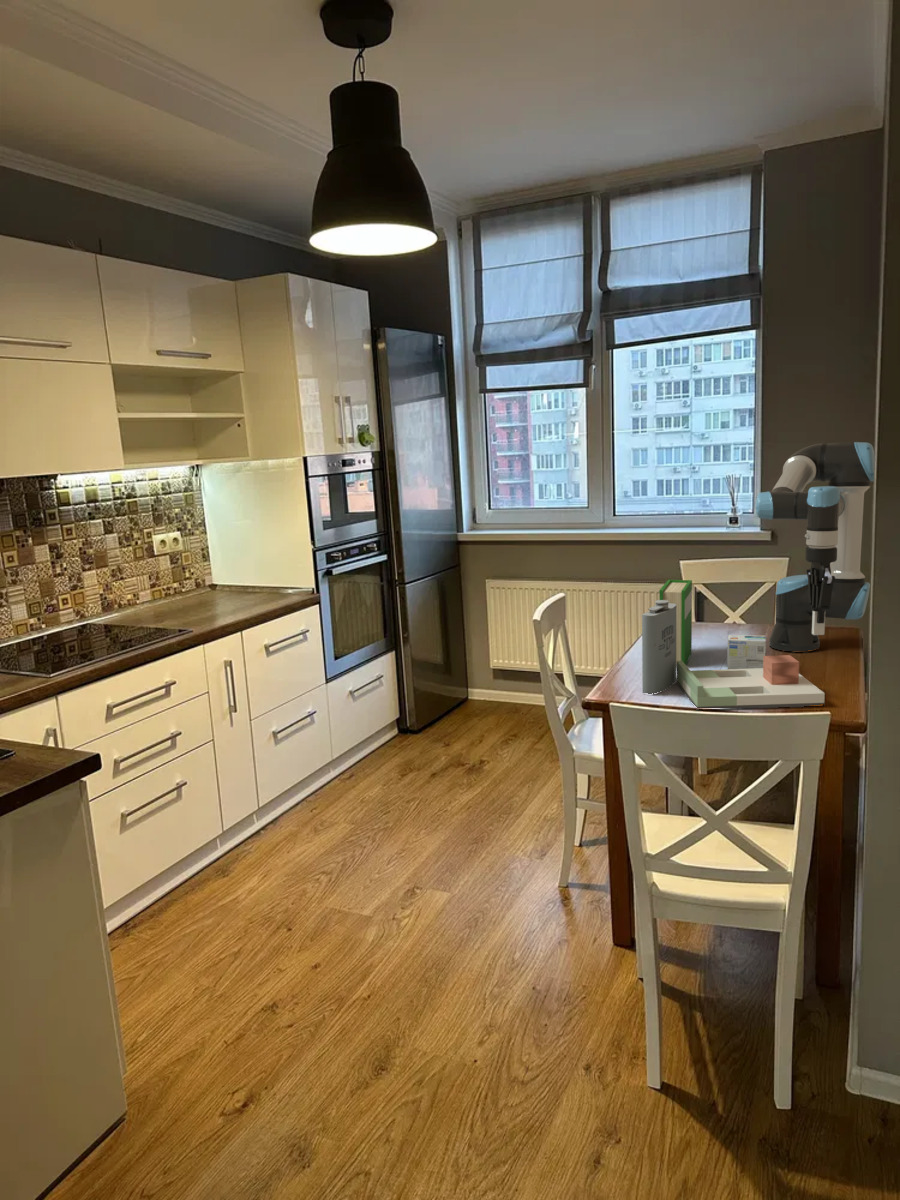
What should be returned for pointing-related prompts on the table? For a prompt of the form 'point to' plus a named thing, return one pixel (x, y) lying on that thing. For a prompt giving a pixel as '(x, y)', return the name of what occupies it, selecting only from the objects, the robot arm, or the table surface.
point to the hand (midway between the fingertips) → (818, 634)
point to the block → (781, 669)
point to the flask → (659, 647)
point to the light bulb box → (746, 651)
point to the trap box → (743, 689)
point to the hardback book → (680, 614)
